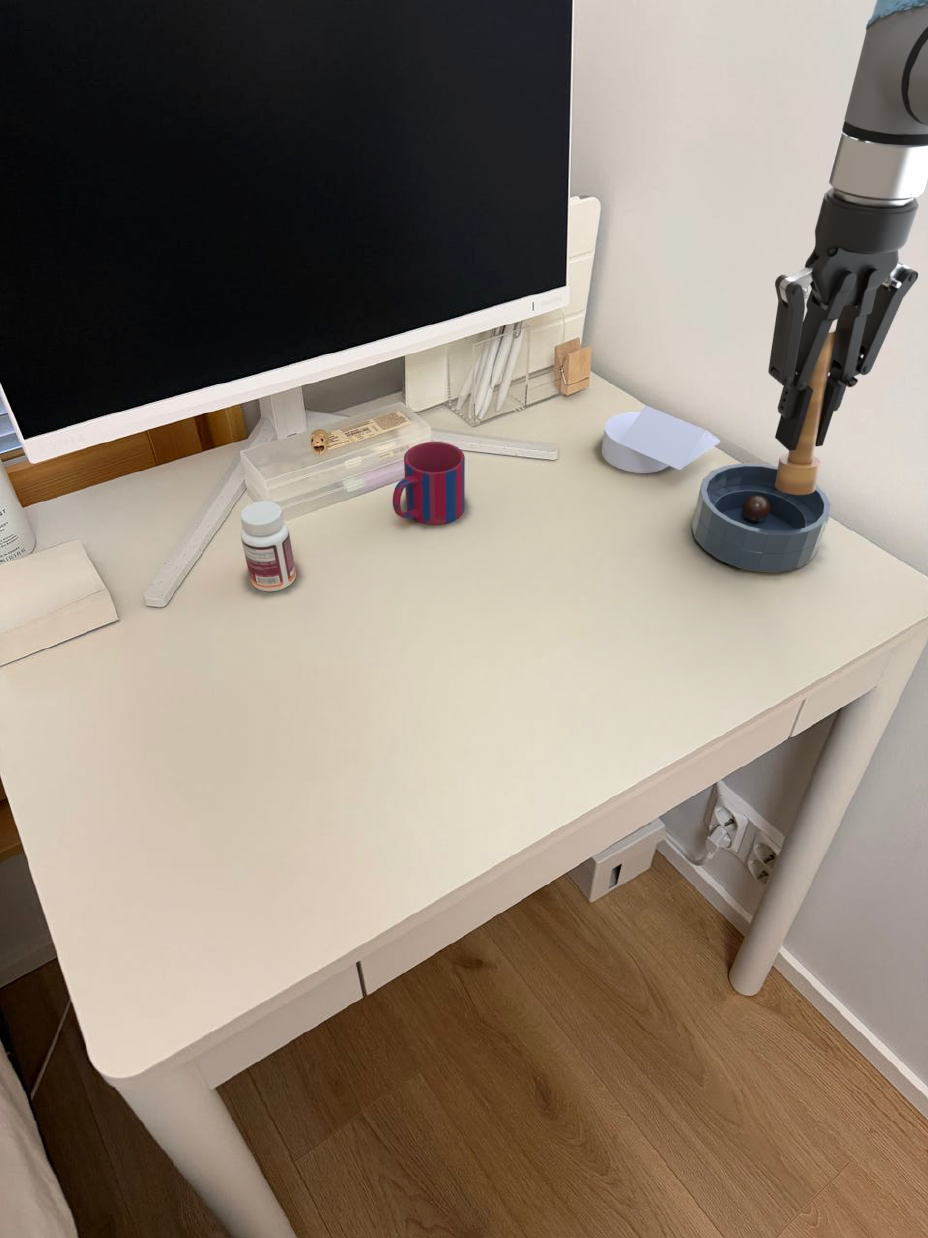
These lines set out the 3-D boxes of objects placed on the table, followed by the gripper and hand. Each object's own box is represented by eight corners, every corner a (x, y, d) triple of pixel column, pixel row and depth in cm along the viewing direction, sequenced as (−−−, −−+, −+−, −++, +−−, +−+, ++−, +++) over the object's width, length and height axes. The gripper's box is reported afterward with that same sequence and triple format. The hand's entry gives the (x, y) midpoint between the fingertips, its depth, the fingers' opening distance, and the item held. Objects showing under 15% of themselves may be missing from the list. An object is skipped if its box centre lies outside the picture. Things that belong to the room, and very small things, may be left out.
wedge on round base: (715, 465, 106) (629, 427, 113) (726, 416, 102) (636, 380, 108) (674, 494, 101) (587, 453, 108) (684, 444, 97) (593, 405, 103)
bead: (770, 517, 97) (778, 497, 95) (758, 531, 95) (765, 511, 93) (747, 505, 98) (753, 485, 96) (734, 519, 97) (740, 499, 94)
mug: (476, 508, 99) (477, 457, 94) (412, 545, 94) (410, 493, 89) (436, 485, 102) (435, 434, 98) (372, 519, 97) (368, 468, 93)
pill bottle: (277, 558, 92) (265, 492, 86) (305, 577, 90) (295, 511, 84) (240, 578, 89) (226, 512, 84) (269, 599, 87) (256, 532, 81)
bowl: (840, 564, 92) (856, 522, 88) (727, 586, 89) (739, 543, 85) (774, 496, 101) (786, 455, 97) (670, 513, 98) (679, 472, 95)
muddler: (819, 495, 87) (850, 334, 79) (779, 495, 88) (805, 335, 79) (810, 479, 91) (839, 324, 82) (771, 479, 91) (796, 324, 83)
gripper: (922, 173, 76) (843, 414, 91) (766, 186, 73) (712, 433, 88) (982, 198, 70) (886, 449, 86) (816, 213, 67) (749, 471, 83)
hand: (798, 441), depth 87 cm, fingers closed on muddler, 2 cm apart
